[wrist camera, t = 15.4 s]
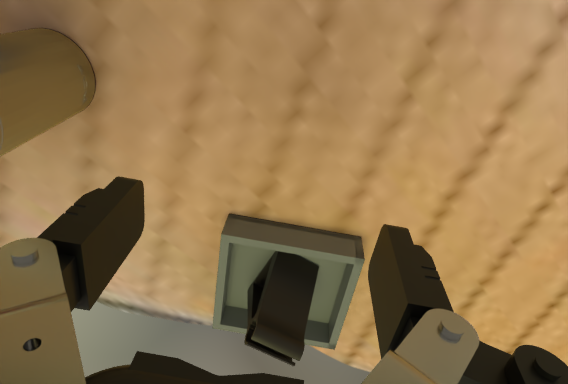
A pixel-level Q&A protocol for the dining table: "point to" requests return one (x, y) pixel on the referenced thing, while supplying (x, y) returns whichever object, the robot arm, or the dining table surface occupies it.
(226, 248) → the tray
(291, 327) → the phone stand
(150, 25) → the dining table surface
